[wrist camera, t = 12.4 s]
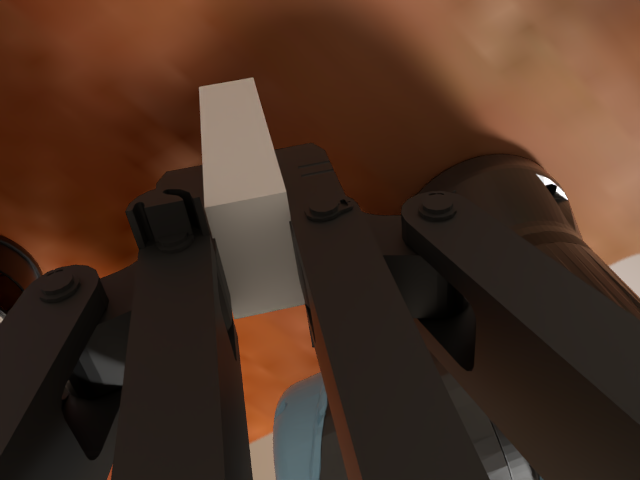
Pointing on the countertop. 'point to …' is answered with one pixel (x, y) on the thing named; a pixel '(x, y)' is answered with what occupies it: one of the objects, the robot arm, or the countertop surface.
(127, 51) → the countertop surface
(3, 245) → the french press
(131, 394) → the robot arm
